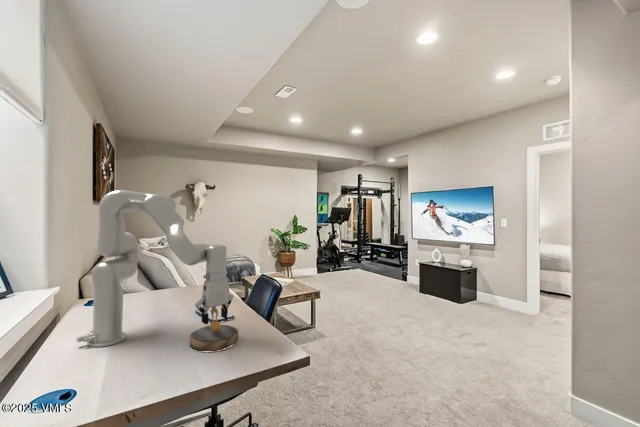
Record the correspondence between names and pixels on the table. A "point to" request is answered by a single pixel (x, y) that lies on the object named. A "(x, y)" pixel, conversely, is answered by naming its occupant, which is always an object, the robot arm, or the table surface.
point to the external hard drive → (215, 315)
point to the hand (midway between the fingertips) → (214, 320)
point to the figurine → (215, 324)
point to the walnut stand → (213, 338)
